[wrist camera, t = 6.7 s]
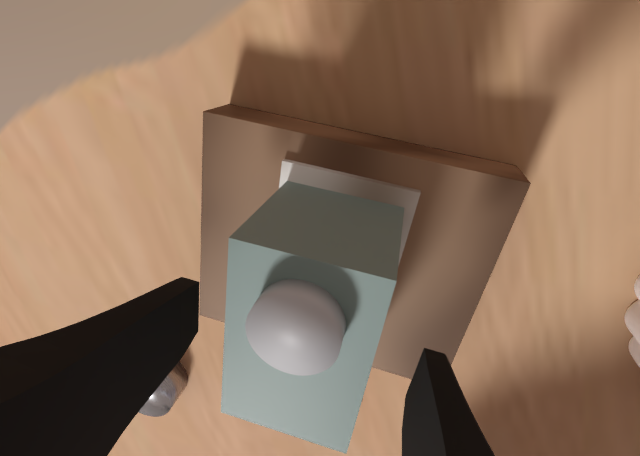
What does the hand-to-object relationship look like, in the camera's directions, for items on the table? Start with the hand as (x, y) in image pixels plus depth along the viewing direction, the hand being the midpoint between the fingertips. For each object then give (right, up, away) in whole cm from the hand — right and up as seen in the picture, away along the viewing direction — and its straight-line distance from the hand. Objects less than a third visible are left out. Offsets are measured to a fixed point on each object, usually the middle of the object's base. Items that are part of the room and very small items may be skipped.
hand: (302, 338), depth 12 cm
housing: (+1, +2, +4) cm, 4 cm away
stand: (+2, +3, +6) cm, 7 cm away
